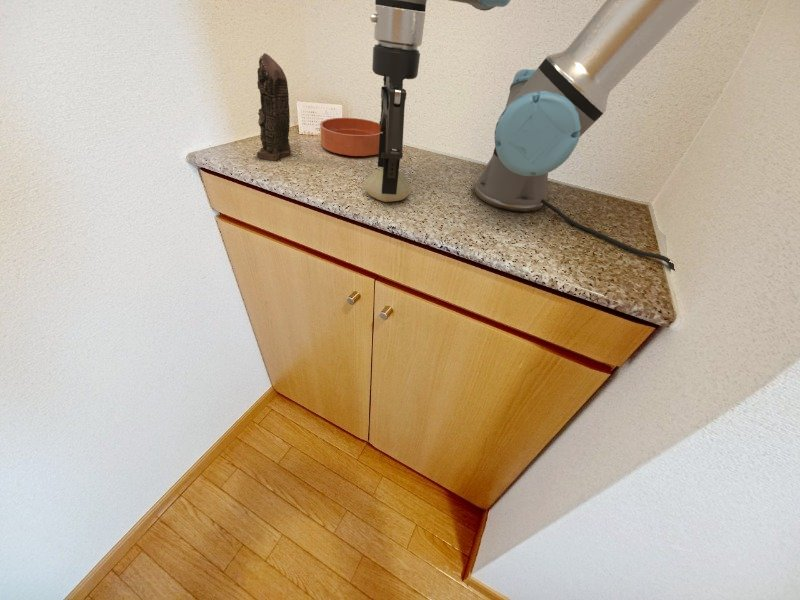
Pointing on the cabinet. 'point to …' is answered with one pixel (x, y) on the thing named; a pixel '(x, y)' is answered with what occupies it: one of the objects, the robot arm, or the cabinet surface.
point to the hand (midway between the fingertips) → (386, 179)
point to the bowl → (350, 136)
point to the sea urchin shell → (375, 187)
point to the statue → (273, 110)
